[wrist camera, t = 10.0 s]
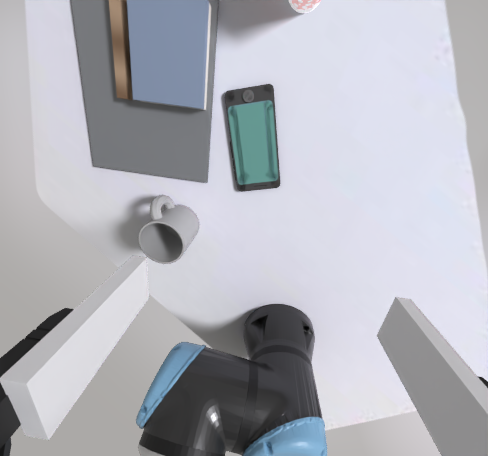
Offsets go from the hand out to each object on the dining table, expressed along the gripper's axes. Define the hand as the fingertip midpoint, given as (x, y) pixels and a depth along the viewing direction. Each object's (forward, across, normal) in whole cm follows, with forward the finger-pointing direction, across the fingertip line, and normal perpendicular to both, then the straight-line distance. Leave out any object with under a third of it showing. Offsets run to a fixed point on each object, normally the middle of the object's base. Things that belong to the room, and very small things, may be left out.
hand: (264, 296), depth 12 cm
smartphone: (+29, +3, -6) cm, 30 cm away
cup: (+29, +15, +8) cm, 34 cm away
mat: (+29, +20, -11) cm, 37 cm away
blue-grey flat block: (+27, +21, -16) cm, 38 cm away
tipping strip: (+29, +23, -16) cm, 40 cm away
